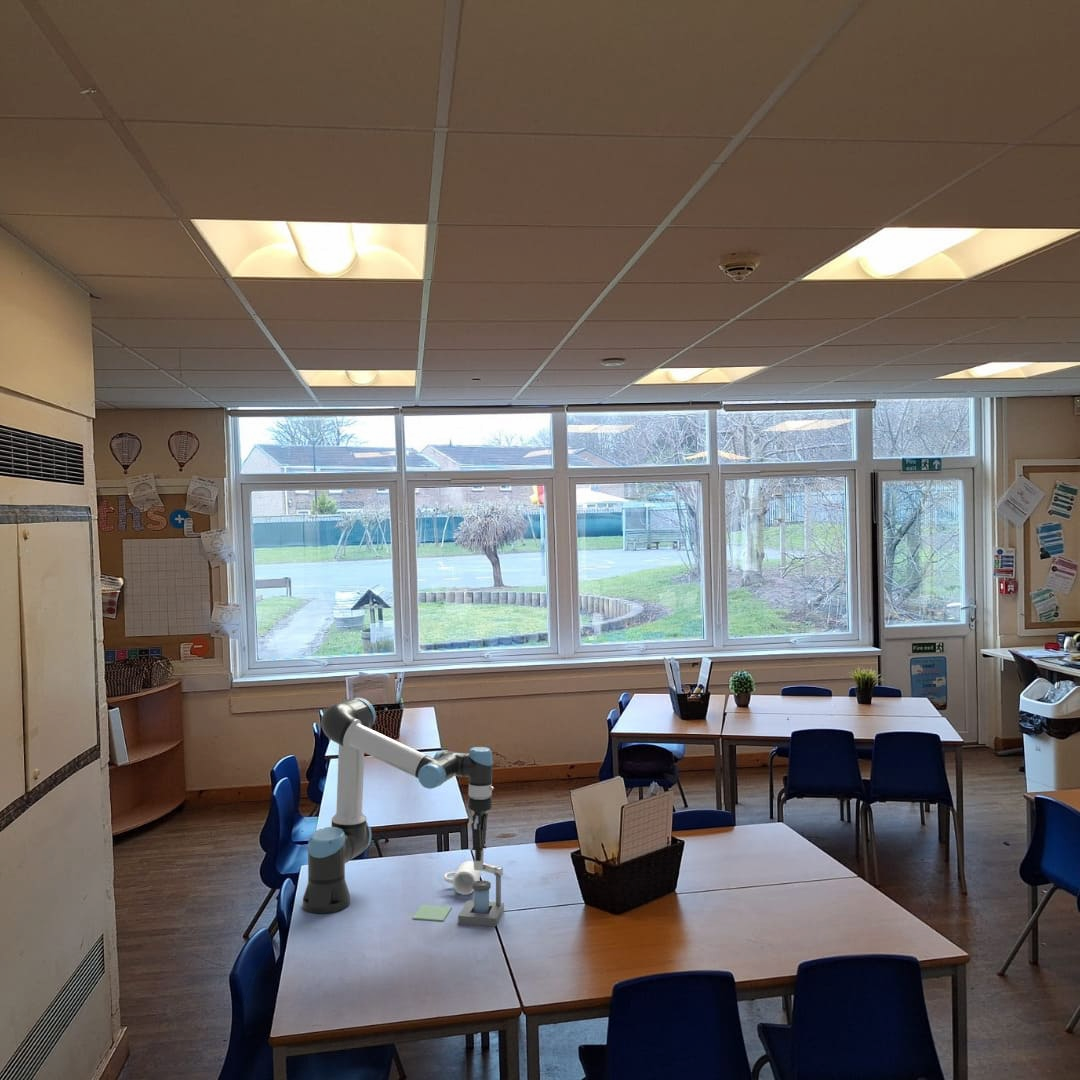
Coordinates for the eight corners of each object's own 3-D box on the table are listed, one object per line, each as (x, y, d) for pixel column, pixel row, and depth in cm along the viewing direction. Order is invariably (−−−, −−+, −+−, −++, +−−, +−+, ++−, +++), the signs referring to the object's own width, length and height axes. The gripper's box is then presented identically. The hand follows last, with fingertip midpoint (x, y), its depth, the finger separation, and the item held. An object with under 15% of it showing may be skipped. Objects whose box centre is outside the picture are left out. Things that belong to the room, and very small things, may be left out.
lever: (504, 873, 291) (504, 867, 291) (499, 876, 289) (499, 870, 289) (477, 866, 298) (477, 859, 298) (472, 868, 296) (472, 862, 296)
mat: (412, 918, 286) (412, 917, 286) (421, 906, 295) (421, 904, 295) (443, 921, 284) (443, 919, 284) (451, 908, 294) (451, 907, 294)
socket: (458, 923, 282) (458, 885, 282) (467, 908, 294) (467, 871, 294) (496, 926, 280) (496, 887, 280) (503, 910, 292) (504, 873, 292)
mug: (480, 884, 314) (480, 861, 314) (476, 895, 304) (476, 872, 304) (446, 882, 315) (446, 860, 315) (440, 894, 305) (440, 870, 305)
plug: (470, 920, 285) (470, 886, 285) (474, 912, 290) (474, 880, 290) (488, 921, 284) (488, 888, 284) (492, 914, 289) (492, 881, 289)
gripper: (487, 802, 287) (485, 877, 287) (495, 791, 299) (494, 863, 299) (463, 801, 288) (462, 875, 288) (473, 790, 301) (472, 861, 301)
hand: (478, 869), depth 294 cm, fingers closed
